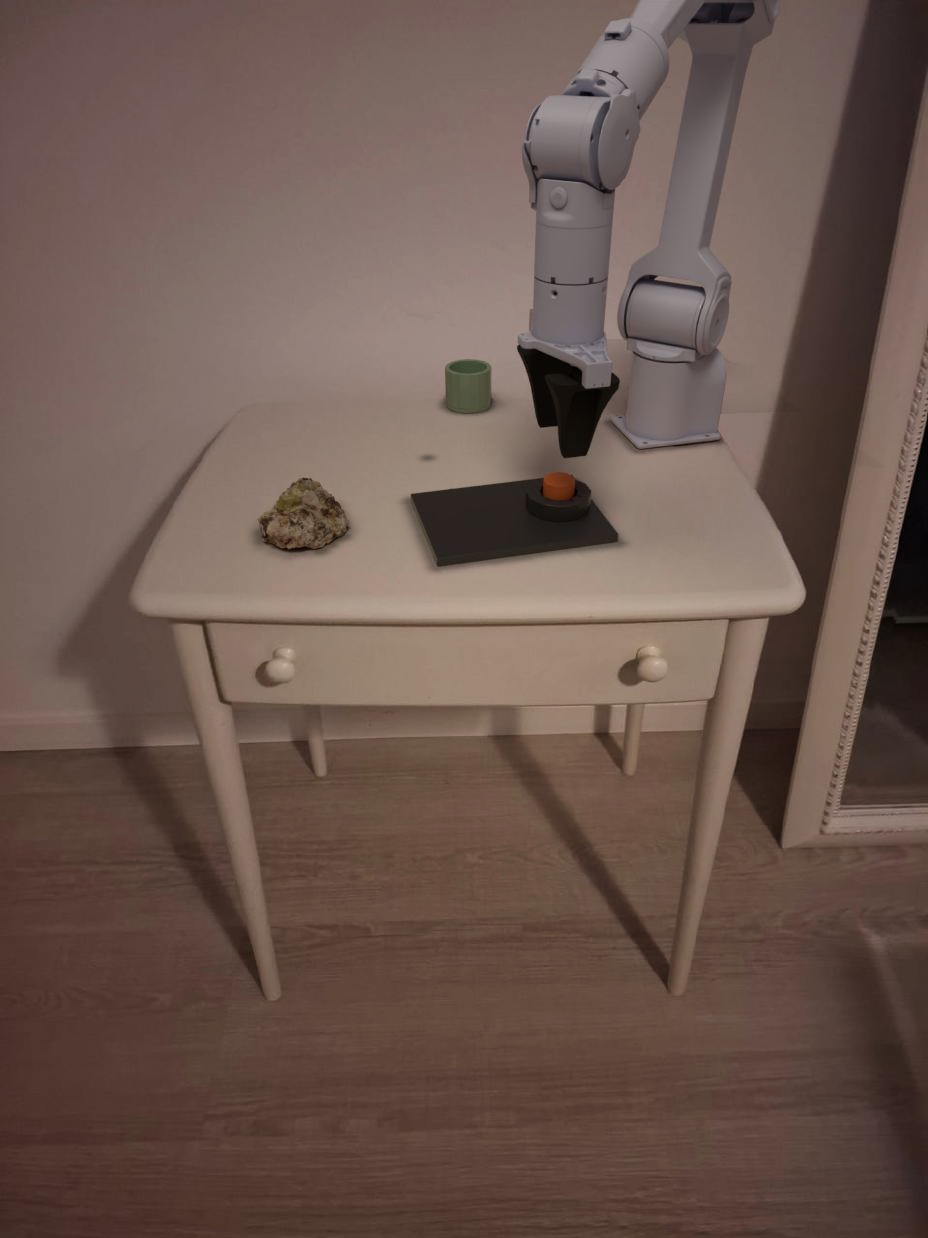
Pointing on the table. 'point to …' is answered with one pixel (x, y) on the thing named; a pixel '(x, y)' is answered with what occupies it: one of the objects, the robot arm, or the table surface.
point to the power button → (558, 486)
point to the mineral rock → (303, 517)
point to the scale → (507, 521)
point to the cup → (468, 385)
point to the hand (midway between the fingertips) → (561, 439)
